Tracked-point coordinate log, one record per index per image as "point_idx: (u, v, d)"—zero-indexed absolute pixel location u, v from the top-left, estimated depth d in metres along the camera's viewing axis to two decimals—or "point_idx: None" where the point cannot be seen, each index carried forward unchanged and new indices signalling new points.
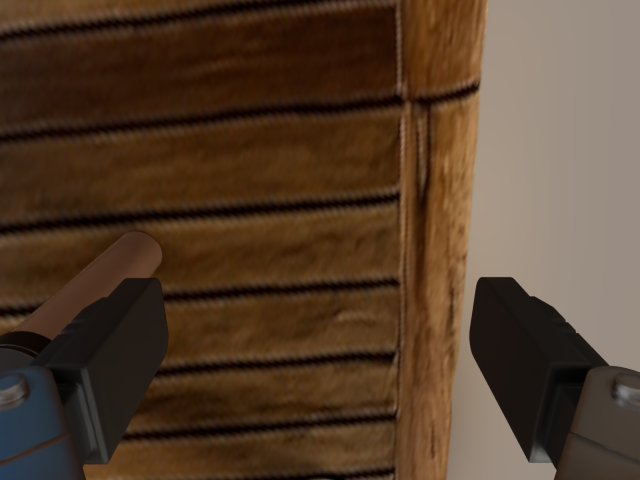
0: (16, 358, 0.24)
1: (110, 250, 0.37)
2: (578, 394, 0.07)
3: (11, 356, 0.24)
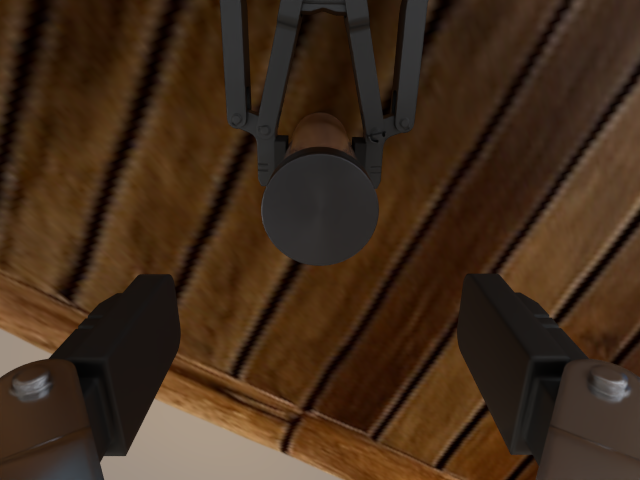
0: (346, 247, 0.19)
1: None
2: (557, 387, 0.08)
3: (351, 244, 0.19)
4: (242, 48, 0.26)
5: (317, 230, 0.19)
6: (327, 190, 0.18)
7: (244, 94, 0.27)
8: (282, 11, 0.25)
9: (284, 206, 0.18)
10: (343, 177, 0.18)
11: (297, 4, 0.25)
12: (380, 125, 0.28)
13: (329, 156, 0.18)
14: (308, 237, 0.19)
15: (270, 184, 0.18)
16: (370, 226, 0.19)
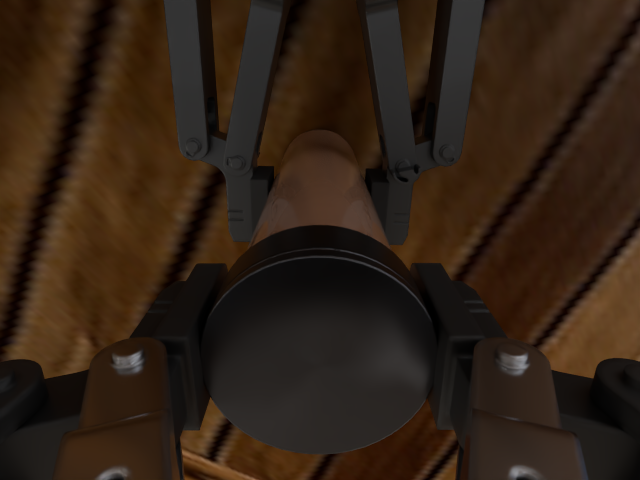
0: (371, 424, 0.10)
1: None
2: (472, 363, 0.08)
3: (382, 420, 0.10)
4: (198, 38, 0.17)
5: (314, 396, 0.09)
6: (333, 326, 0.09)
7: (203, 109, 0.18)
8: None
9: (246, 354, 0.09)
10: (368, 301, 0.09)
11: None
12: (410, 155, 0.19)
13: (339, 261, 0.08)
14: (296, 408, 0.10)
15: (215, 314, 0.09)
16: (421, 389, 0.09)
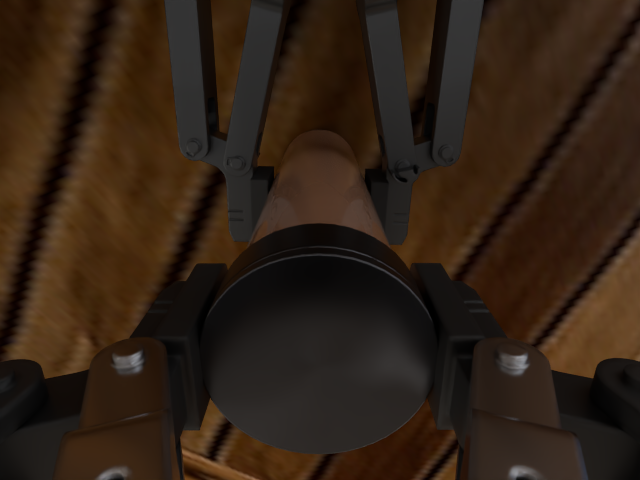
0: (407, 328, 0.09)
1: None
2: (472, 363, 0.08)
3: (404, 317, 0.09)
4: (198, 39, 0.17)
5: (355, 374, 0.09)
6: (275, 346, 0.09)
7: (204, 110, 0.18)
8: None
9: (294, 417, 0.10)
10: (251, 312, 0.09)
11: None
12: (410, 156, 0.19)
13: (204, 331, 0.09)
14: (367, 391, 0.09)
15: (248, 431, 0.10)
16: (370, 276, 0.08)
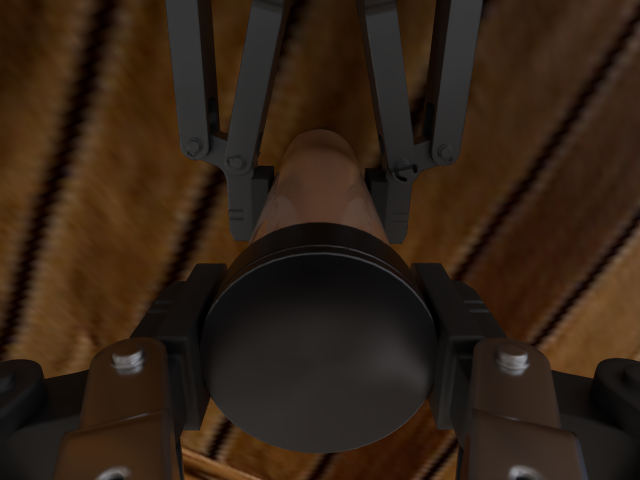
0: (291, 280, 0.08)
1: None
2: (472, 364, 0.08)
3: (277, 282, 0.08)
4: (199, 39, 0.17)
5: (337, 333, 0.09)
6: (290, 393, 0.09)
7: (205, 109, 0.18)
8: None
9: (380, 392, 0.09)
10: (252, 404, 0.09)
11: None
12: (409, 155, 0.19)
13: (265, 441, 0.10)
14: (361, 325, 0.09)
15: (386, 432, 0.10)
16: (225, 307, 0.09)
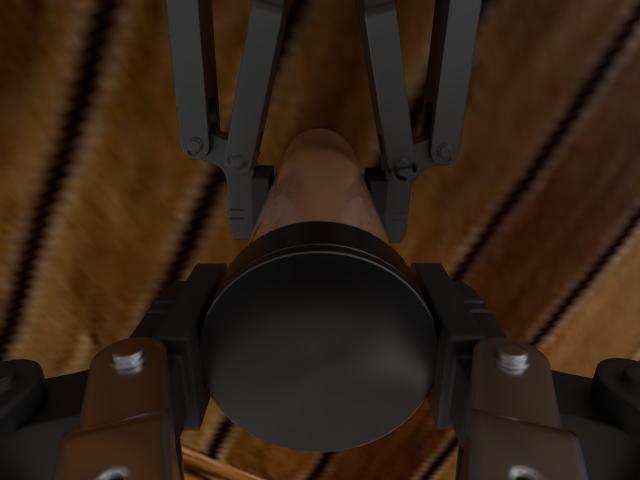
0: (224, 369, 0.09)
1: None
2: (472, 363, 0.08)
3: (224, 380, 0.09)
4: (200, 40, 0.17)
5: (286, 341, 0.09)
6: (350, 390, 0.09)
7: (205, 109, 0.18)
8: None
9: (368, 313, 0.09)
10: (355, 422, 0.10)
11: None
12: (408, 155, 0.19)
13: (403, 420, 0.10)
14: (281, 320, 0.09)
15: (424, 313, 0.09)
16: (244, 421, 0.10)
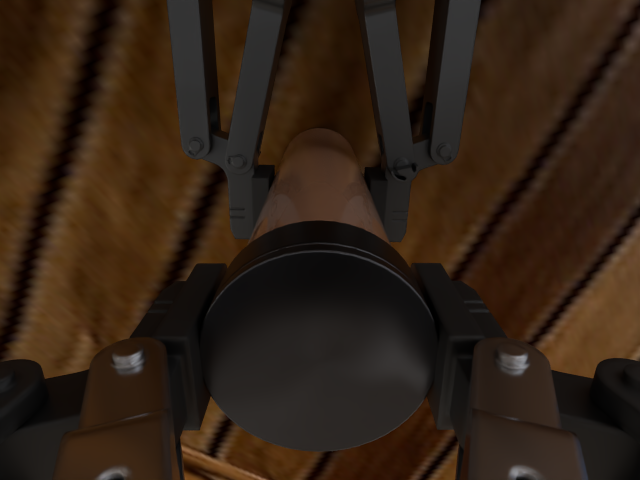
0: (311, 433, 0.10)
1: None
2: (472, 364, 0.08)
3: (323, 436, 0.10)
4: (200, 40, 0.17)
5: (290, 382, 0.09)
6: (360, 340, 0.09)
7: (206, 109, 0.18)
8: None
9: (269, 311, 0.09)
10: (403, 339, 0.09)
11: None
12: (408, 154, 0.19)
13: (413, 294, 0.08)
14: (266, 383, 0.09)
15: (278, 261, 0.08)
16: (375, 432, 0.10)
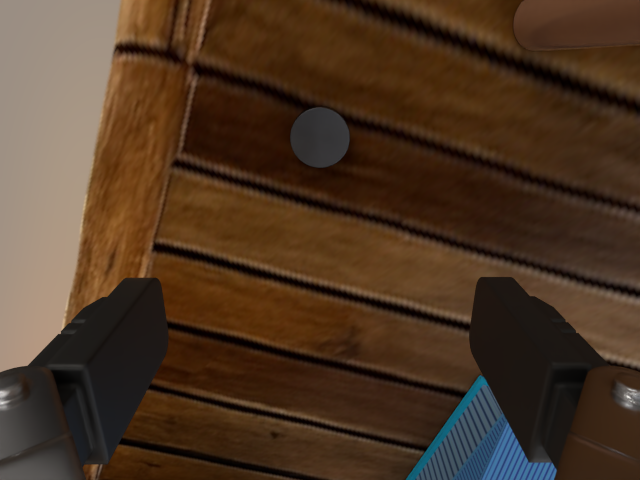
0: (342, 144, 0.37)
1: (558, 48, 0.32)
2: (578, 394, 0.07)
3: (343, 141, 0.37)
4: None
5: (325, 146, 0.37)
6: (315, 127, 0.36)
7: None
8: None
9: (304, 147, 0.37)
10: (317, 116, 0.36)
11: None
12: None
13: (305, 112, 0.36)
14: (324, 152, 0.37)
15: (291, 142, 0.37)
16: (344, 127, 0.36)
